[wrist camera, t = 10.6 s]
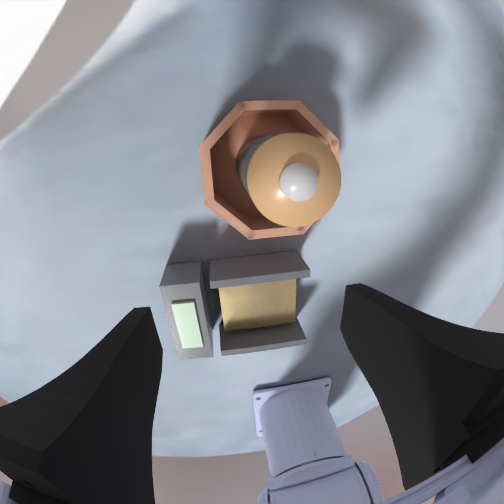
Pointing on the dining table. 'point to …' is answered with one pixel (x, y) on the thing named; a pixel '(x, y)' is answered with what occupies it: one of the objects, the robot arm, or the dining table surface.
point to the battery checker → (223, 275)
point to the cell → (289, 177)
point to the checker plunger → (258, 304)
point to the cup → (225, 152)
